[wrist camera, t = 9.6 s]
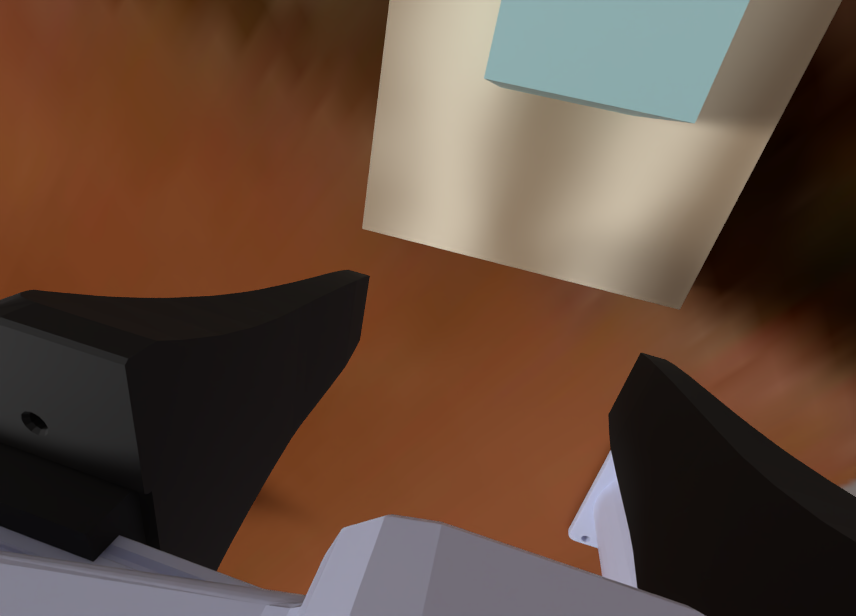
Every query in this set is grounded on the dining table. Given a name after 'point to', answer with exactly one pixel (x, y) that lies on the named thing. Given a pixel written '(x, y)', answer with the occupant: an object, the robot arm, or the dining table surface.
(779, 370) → the dining table surface
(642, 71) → the teal block
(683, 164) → the flat cream rectangular board
